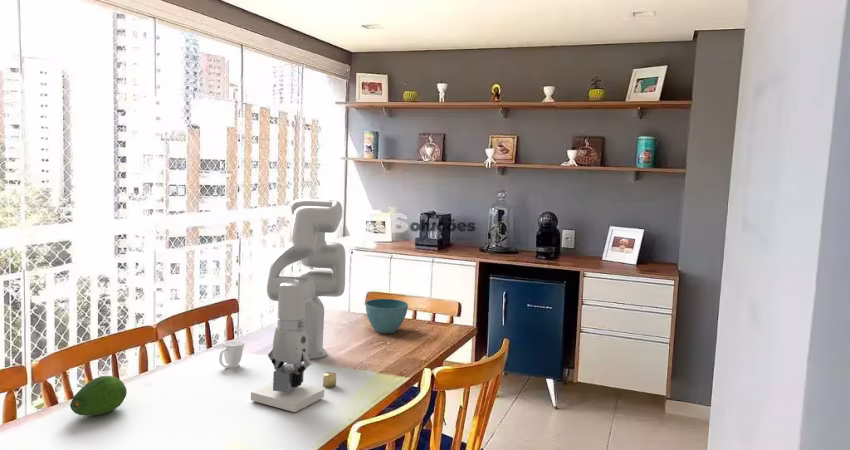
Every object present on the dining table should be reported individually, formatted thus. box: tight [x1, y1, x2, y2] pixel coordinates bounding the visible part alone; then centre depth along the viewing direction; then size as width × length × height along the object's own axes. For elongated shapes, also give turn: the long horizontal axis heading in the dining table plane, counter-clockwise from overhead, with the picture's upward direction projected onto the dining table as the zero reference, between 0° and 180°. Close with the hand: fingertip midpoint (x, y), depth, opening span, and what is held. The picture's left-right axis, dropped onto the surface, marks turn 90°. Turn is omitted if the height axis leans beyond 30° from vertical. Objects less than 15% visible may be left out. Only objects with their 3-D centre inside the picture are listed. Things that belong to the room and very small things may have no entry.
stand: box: [250, 382, 325, 413], centre depth 183 cm, size 16×14×3 cm
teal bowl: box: [365, 298, 409, 334], centre depth 267 cm, size 18×18×12 cm
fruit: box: [69, 375, 127, 416], centre depth 166 cm, size 15×10×10 cm, turn 156°
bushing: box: [322, 371, 337, 389], centre depth 197 cm, size 4×4×4 cm
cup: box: [218, 339, 245, 369], centre depth 210 cm, size 7×10×8 cm
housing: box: [272, 363, 305, 393], centre depth 183 cm, size 10×5×6 cm, turn 166°
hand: (288, 383), depth 183 cm, fingers closed on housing, 5 cm apart
